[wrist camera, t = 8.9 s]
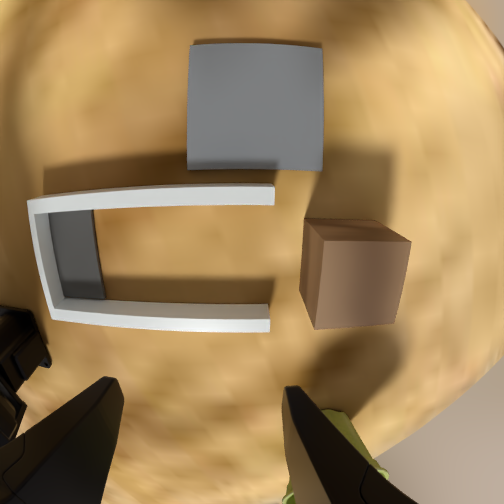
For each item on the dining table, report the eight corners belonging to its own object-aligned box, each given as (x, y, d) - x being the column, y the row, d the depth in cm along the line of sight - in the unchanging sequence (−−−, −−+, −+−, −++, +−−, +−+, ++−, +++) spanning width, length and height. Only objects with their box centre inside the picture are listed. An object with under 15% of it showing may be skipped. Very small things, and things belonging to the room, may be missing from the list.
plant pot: (358, 383, 23) (389, 457, 15) (367, 431, 26) (389, 490, 18) (261, 414, 24) (267, 493, 16) (289, 456, 27) (297, 518, 19)
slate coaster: (189, 169, 17) (187, 170, 16) (191, 48, 14) (189, 45, 14) (319, 170, 17) (322, 171, 17) (319, 51, 15) (322, 48, 14)
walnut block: (298, 289, 20) (314, 329, 15) (303, 218, 18) (324, 240, 14) (364, 287, 20) (394, 323, 15) (374, 220, 18) (411, 241, 14)
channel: (63, 307, 20) (52, 319, 18) (42, 195, 17) (26, 200, 15) (267, 316, 20) (269, 331, 18) (271, 183, 17) (274, 186, 15)
